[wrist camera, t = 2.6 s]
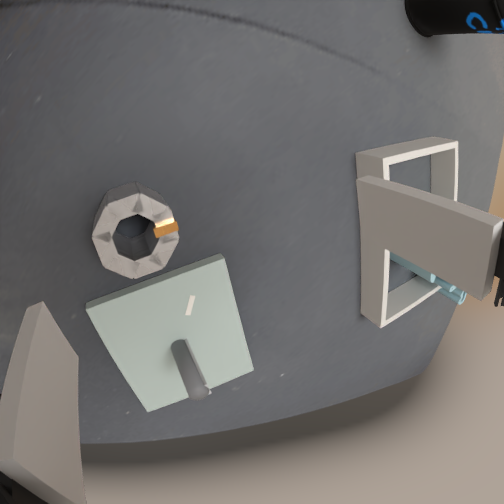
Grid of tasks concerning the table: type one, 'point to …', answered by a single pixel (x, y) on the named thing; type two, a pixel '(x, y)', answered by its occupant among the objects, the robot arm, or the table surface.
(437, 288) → the dispenser corral
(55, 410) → the robot arm
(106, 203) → the grey piece
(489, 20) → the aerosol can
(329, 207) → the table surface
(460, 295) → the light blue curvy piece
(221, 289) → the peg stand
